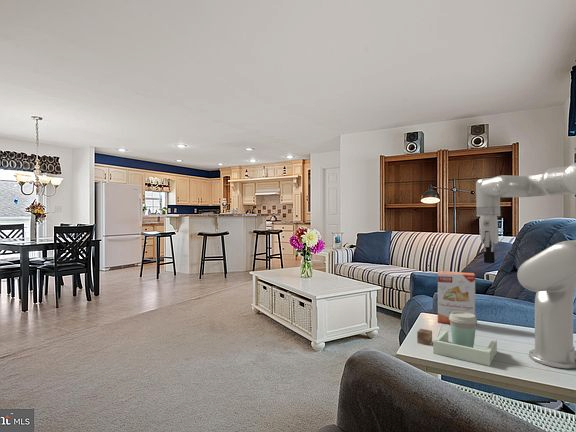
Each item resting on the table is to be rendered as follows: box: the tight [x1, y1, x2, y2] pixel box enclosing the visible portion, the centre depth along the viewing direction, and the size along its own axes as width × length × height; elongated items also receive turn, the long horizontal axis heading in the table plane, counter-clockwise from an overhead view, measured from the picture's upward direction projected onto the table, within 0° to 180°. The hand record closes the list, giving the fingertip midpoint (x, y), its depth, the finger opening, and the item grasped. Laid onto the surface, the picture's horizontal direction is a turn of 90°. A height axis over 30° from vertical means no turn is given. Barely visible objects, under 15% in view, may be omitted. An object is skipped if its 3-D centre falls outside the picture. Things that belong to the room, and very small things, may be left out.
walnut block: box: [416, 328, 433, 346], centre depth 126 cm, size 4×4×4 cm
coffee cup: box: [449, 312, 478, 348], centre depth 118 cm, size 9×8×12 cm
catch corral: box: [432, 329, 498, 367], centre depth 117 cm, size 16×14×4 cm
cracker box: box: [437, 270, 476, 324], centre depth 147 cm, size 14×6×21 cm, turn 67°
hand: (489, 262), depth 129 cm, fingers closed
